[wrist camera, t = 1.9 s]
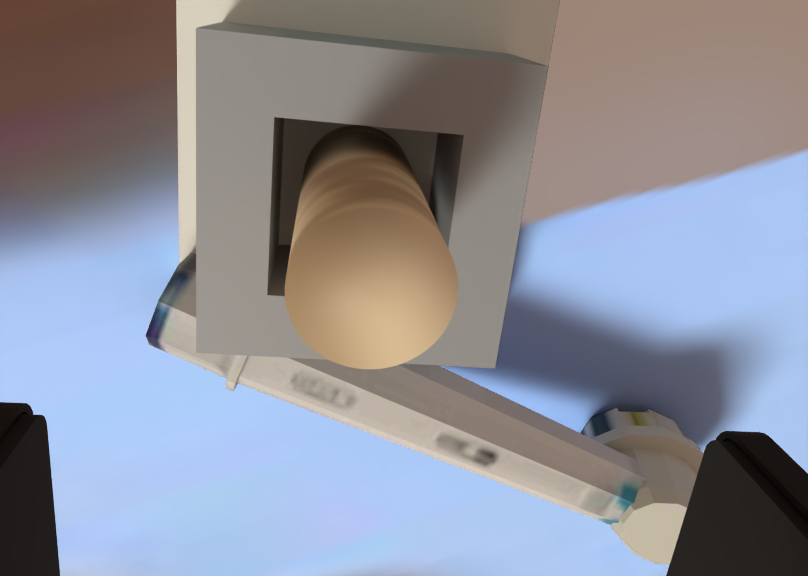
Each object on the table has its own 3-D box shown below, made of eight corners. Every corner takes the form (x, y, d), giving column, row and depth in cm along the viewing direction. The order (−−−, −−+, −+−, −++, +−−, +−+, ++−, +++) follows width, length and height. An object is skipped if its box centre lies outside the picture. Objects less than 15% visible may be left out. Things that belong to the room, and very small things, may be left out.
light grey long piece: (171, 261, 24) (784, 538, 27) (228, 205, 30) (722, 435, 33) (127, 378, 26) (702, 624, 29) (189, 303, 32) (659, 513, 35)
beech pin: (416, 130, 26) (469, 216, 16) (404, 233, 27) (446, 373, 17) (306, 119, 25) (288, 201, 15) (300, 226, 27) (280, 365, 17)
